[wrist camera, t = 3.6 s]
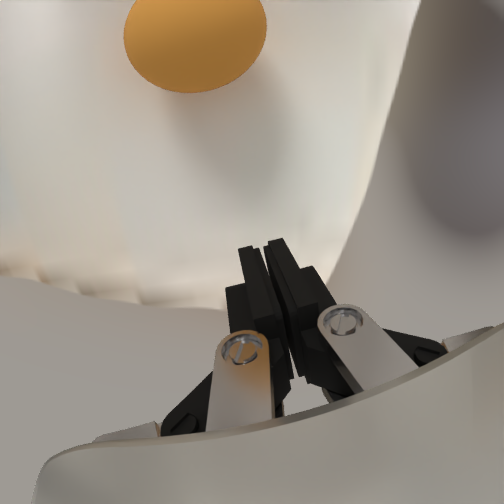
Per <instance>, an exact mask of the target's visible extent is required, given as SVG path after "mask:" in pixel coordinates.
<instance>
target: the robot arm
mask: <svg viewBox="0 0 504 504" xmlns="http://www.w3.org/2000/svg"><path fill="white" fill-rule="evenodd" d="M263 248H264V254H265V258H266V263H267V268H268V271H267V269H266V266H265V263H264V260H263V258H262V255H261V252H260V249H259V248H255V249H253V246H252V245H251V246H247V247H243V248H239V249H238V252H239V257H240V261H241V266H242V271H243V275H244V280H245V283H242V284H238V285H234V286H230V287H226V288H225V291H226V300H227V309H228V318H229V326H230V333H231V334H230V335H228V336H226V337H225V338H224V339H223V340H222V341H221V342H220V343H219V345H218V346H217V349H216V353H215V360H214V369H213V371H212V372H211V373H210V374H209V375H208V376H207V377H206V378H205V379H204V380H203V381H202V382H201V383H200V384H199V385H198V386H197V387H196V388H195V389H194V390H193V391H192V392H191V393H190V394H189V395H188V396H187V397H186V398H185V399H184V400H182V401H181V402H180V403H179V404H178V405H177V406H176V407H175V408H174V409H173V410H172V411H171V412H170V413H169V414H168V415H167V416H166V418H165V419H164V420H163V422H161V423H158V424H157V423H156V422H155V421H153V422H150V423H146V424H143V425H139V426H136V427H132V428H128V429H125V430H120V431H116V432H112V433H108V434H103V435H101V436H99V437H97V438H96V439H95V440H93V441H92V443H88V444H83V445H80V446H76V447H73V448H70V449H67V450H64V451H62V452H60V453H58V454H56V455H54V456H52V457H51V458H50V459H49V460H47V461H46V463H45V464H44V465H43V467H42V469H41V471H40V473H39V475H38V478H37V481H36V485H35V488H34V492H33V497H32V502H31V504H504V323H502V324H499V325H497V326H496V327H492V326H491V327H484V328H481V329H478V330H475V331H471V332H468V333H464V334H461V335H457V336H453V337H450V338H446V339H443V341H442V343H438V342H436V341H434V340H431V339H426V338H421V337H417V336H413V335H408V334H404V333H400V332H395V331H391V330H387V329H383V328H381V327H380V326H379V325H378V324H377V323H376V322H375V321H374V320H373V319H372V318H371V317H370V316H369V315H368V314H367V313H366V312H365V311H364V310H363V309H361V308H360V307H357V306H355V305H351V304H338V305H337V304H336V302H335V300H334V299H333V297H332V295H331V294H330V292H329V291H328V289H327V287H326V286H325V284H324V283H323V281H322V279H321V278H320V276H319V275H318V273H317V271H316V270H315V268H314V267H313V266H309V267H305V268H301V269H300V268H299V266H298V264H297V263H296V261H295V259H294V257H293V255H292V254H291V252H290V250H289V248H288V247H287V245H286V243H285V241H284V239H283V238H280V239H276V240H272V241H268V245H267V246H263ZM268 273H269V274H268ZM289 349H290V352H291V355H292V358H293V361H294V364H295V367H296V370H297V373H298V376H299V377H301V376H305V378H306V381H307V384H310V383H311V384H314V385H317V386H319V387H322V391H323V394H324V396H325V397H326V399H327V401H328V402H329V404H326V405H323V406H320V407H316V408H313V409H310V410H306V411H303V412H299V413H295V414H291V415H288V416H284V405H283V399H284V398H285V397H286V395H287V394H288V393H289V391H290V390H291V386H290V379H294V374H293V369H292V363H291V358H290V353H289Z"/></svg>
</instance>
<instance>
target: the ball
mask: <svg viewBox="0 0 504 504" xmlns="http://www.w3.org/2000/svg"><path fill="white" fill-rule="evenodd" d="M266 30H267V25H266V16H265V12H264V9H263V6H262V4H261V2H260V0H136V2H135V3H134V5H133V6H132V8H131V10H130V12H129V14H128V17H127V20H126V23H125V28H124V45H125V49H126V53H127V56H128V58H129V60H130V62H131V64H132V65H133V67H134V68H135V69H136V70H137V72H138V73H139V74H140V75H141V76H142V77H144V78H145V79H146V80H147V81H149V82H151V83H152V84H154V85H156V86H158V87H161V88H163V89H166V90H170V91H174V92H181V93H196V92H204V91H209V90H213V89H216V88H219V87H221V86H224V85H226V84H228V83H230V82H232V81H233V80H235V79H236V78H238V77H239V76H241V75H242V74H243V73H244V72H245V71H246V70H248V69H249V67H250V66H251V65H252V64H253V63H254V61H255V60H256V58H257V57H258V55H259V54H260V52H261V49H262V47H263V45H264V41H265V38H266Z"/></svg>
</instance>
